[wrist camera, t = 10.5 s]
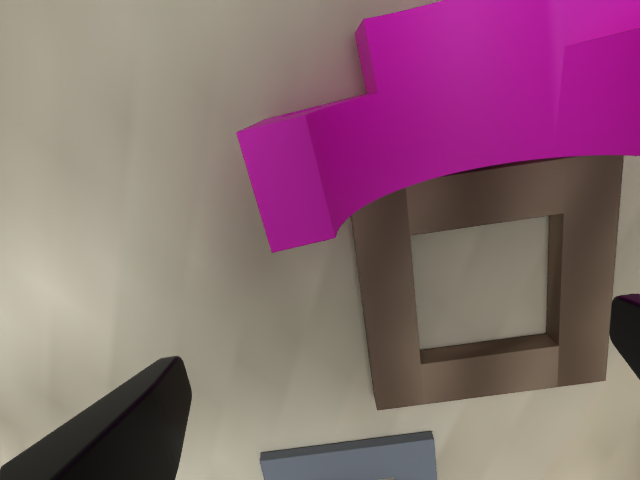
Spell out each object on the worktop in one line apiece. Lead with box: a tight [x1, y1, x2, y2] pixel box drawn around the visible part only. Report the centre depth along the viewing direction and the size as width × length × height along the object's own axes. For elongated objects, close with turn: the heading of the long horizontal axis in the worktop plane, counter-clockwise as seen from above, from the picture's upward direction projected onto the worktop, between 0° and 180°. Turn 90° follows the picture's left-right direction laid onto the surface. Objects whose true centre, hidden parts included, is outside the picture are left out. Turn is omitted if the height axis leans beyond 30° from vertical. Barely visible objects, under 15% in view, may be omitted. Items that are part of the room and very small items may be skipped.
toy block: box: [236, 0, 640, 253], centre depth 15 cm, size 15×6×8 cm, turn 104°
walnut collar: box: [351, 155, 624, 410], centre depth 21 cm, size 12×12×1 cm
